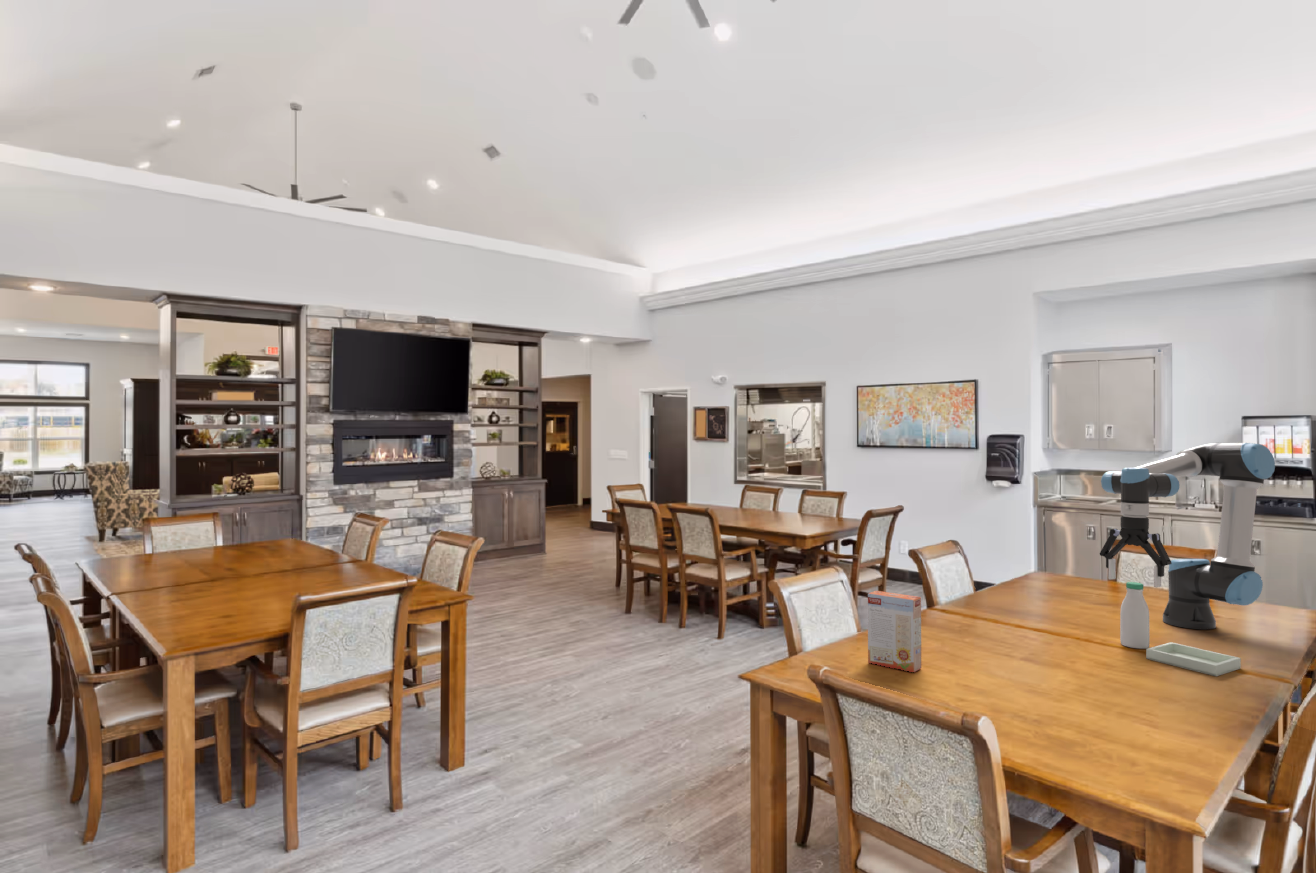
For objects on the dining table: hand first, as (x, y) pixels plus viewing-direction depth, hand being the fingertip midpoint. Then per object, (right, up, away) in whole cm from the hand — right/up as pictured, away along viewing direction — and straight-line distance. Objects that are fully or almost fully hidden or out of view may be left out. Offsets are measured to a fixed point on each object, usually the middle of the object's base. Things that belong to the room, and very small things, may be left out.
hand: (1134, 582), depth 228 cm
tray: (+5, -20, -18) cm, 27 cm away
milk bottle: (0, -20, 0) cm, 20 cm away
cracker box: (-83, -21, -19) cm, 87 cm away
